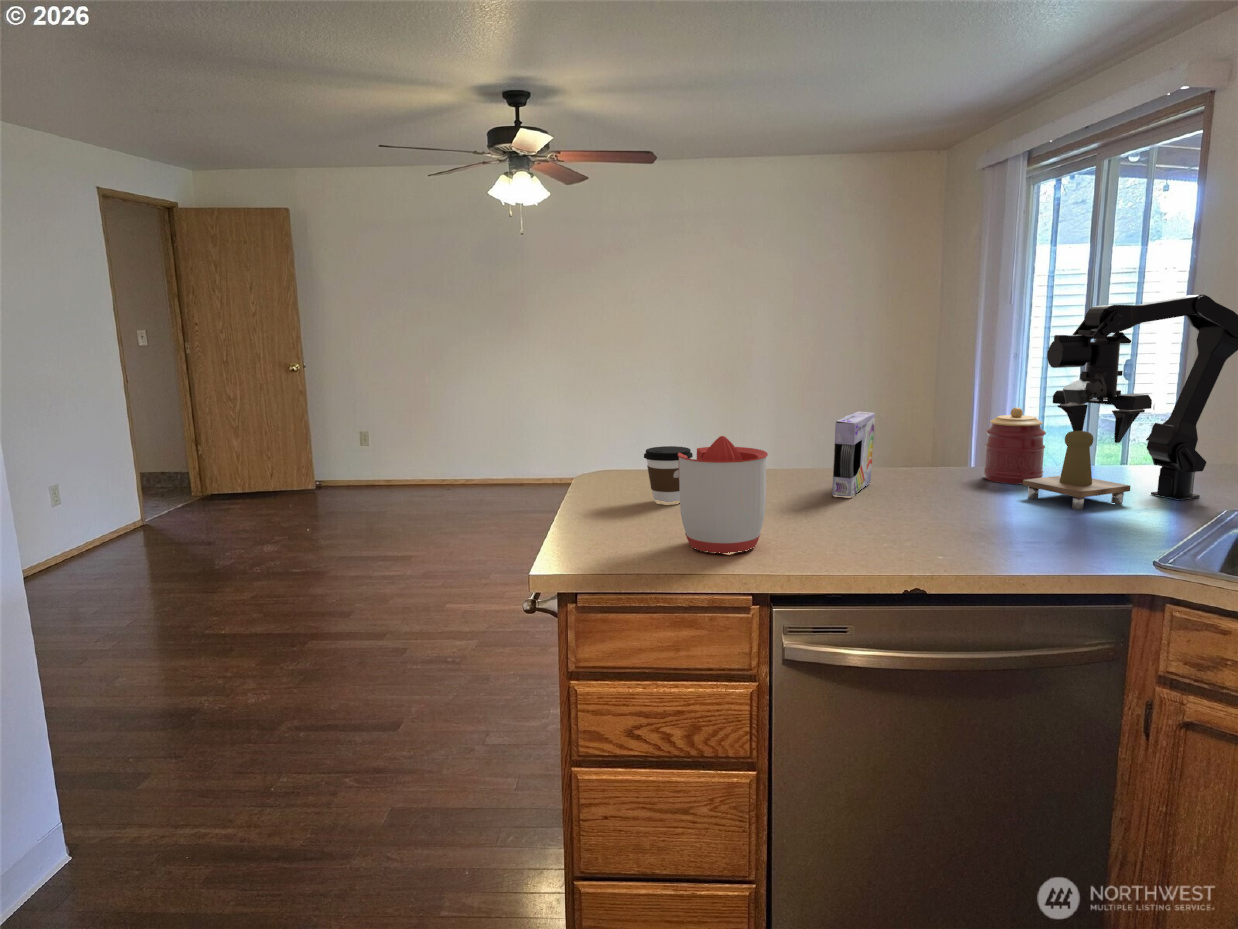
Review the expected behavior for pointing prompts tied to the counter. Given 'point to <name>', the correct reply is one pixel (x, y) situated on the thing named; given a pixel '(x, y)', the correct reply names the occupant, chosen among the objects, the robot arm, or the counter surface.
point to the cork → (1077, 459)
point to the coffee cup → (665, 471)
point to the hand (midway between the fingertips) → (1097, 440)
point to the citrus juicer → (723, 496)
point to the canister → (1014, 448)
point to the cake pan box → (853, 453)
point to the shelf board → (1076, 487)
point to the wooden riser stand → (1076, 498)
